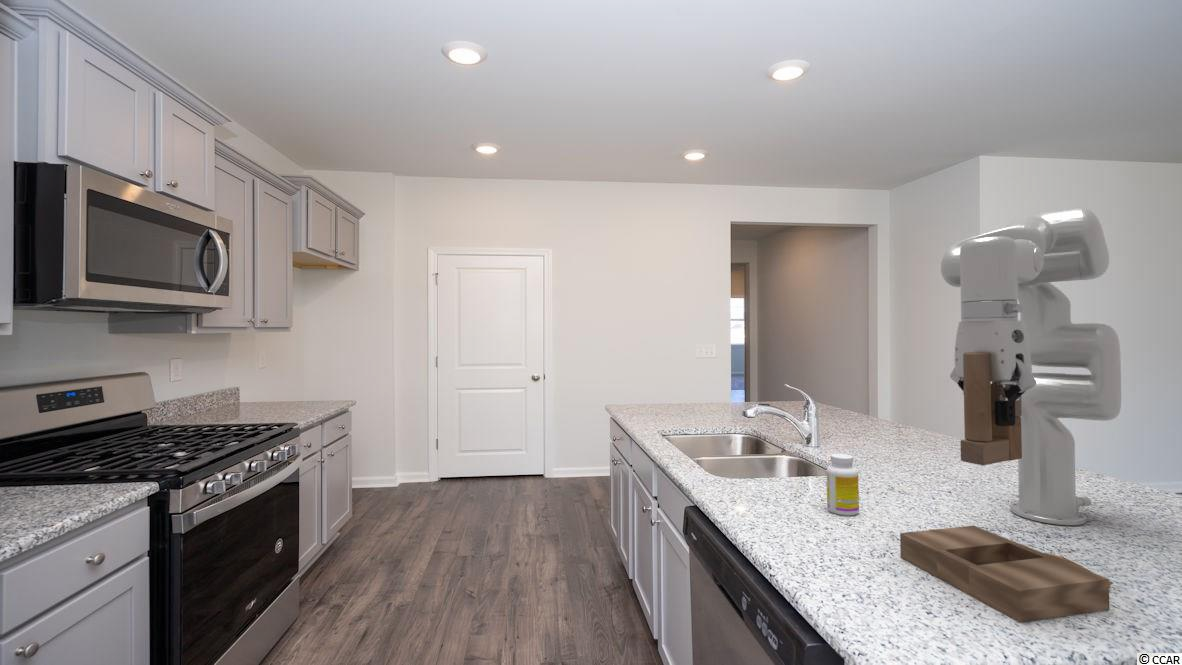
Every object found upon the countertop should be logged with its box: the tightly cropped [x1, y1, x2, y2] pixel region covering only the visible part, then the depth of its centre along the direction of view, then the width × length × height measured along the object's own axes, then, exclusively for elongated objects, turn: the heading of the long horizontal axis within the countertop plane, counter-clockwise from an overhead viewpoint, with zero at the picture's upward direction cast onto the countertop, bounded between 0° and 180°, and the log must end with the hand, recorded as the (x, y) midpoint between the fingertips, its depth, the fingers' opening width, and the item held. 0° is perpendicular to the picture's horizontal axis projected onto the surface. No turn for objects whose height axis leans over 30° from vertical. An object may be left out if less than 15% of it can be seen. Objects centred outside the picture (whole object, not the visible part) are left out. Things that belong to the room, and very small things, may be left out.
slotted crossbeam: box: [899, 525, 1111, 623], centre depth 86 cm, size 16×22×4 cm
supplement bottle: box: [825, 453, 860, 517], centre depth 120 cm, size 7×7×13 cm
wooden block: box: [960, 352, 1022, 466], centre depth 86 cm, size 4×11×18 cm, turn 114°
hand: (990, 421), depth 86 cm, fingers closed on wooden block, 4 cm apart
